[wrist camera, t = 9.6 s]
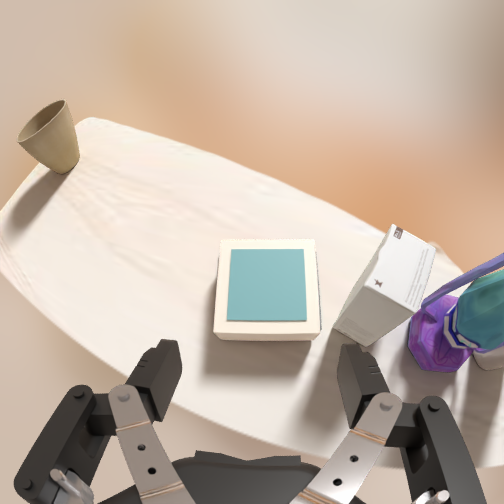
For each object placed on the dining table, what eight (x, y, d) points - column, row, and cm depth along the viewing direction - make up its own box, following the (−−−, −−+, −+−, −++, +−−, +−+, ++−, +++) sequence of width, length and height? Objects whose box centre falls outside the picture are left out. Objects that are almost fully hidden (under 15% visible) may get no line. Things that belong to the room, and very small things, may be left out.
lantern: (474, 326, 32) (613, 231, 6) (448, 390, 28) (623, 340, 2) (418, 284, 37) (544, 140, 10) (385, 348, 33) (567, 236, 6)
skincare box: (365, 348, 33) (417, 321, 20) (329, 326, 35) (361, 288, 22) (390, 297, 36) (440, 248, 23) (356, 277, 38) (393, 219, 25)
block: (313, 340, 34) (309, 256, 39) (320, 332, 29) (314, 238, 35) (221, 339, 35) (226, 257, 40) (212, 331, 30) (220, 238, 36)
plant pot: (102, 147, 57) (76, 98, 43) (62, 191, 52) (26, 145, 38) (74, 140, 62) (51, 99, 47) (40, 178, 56) (10, 139, 42)
